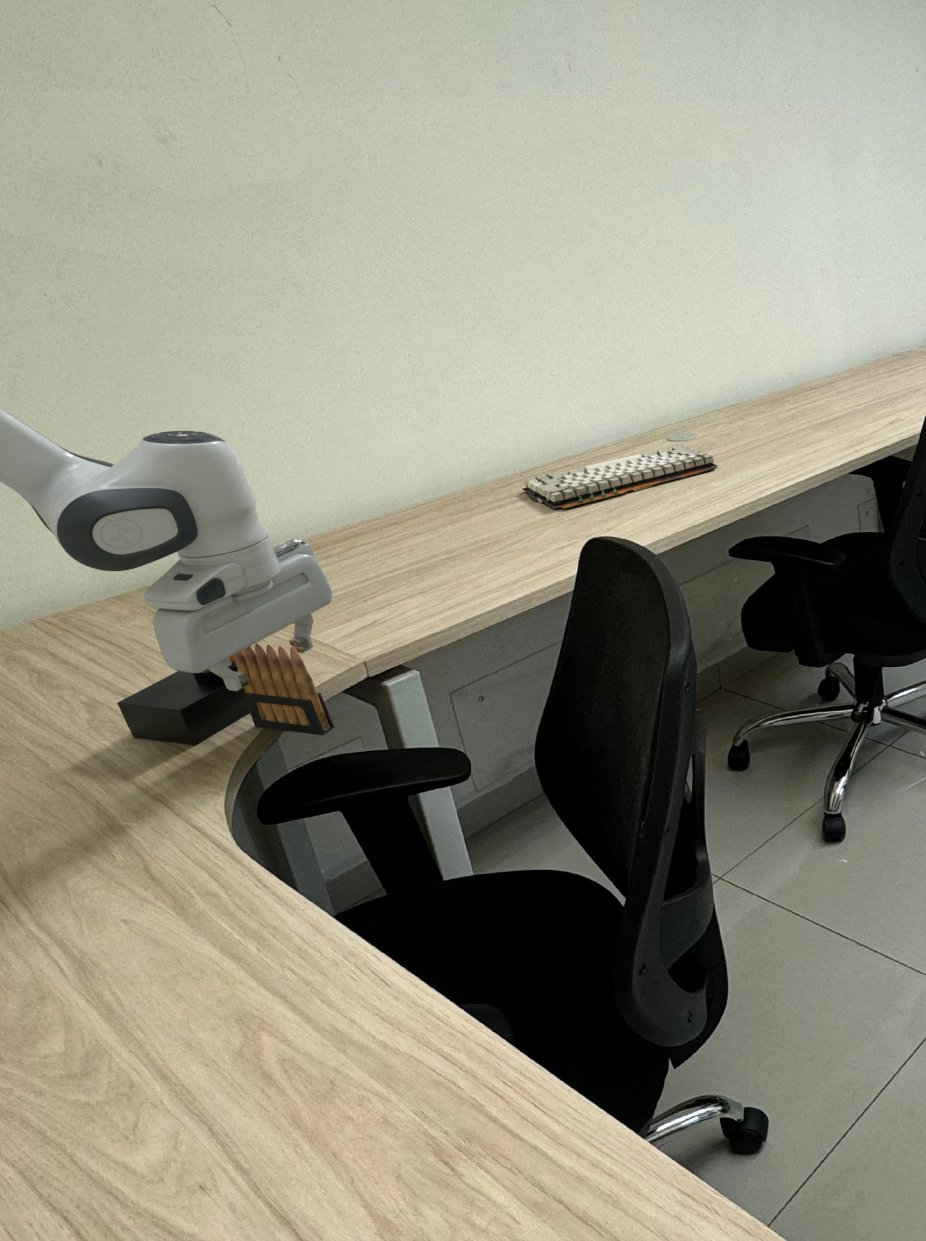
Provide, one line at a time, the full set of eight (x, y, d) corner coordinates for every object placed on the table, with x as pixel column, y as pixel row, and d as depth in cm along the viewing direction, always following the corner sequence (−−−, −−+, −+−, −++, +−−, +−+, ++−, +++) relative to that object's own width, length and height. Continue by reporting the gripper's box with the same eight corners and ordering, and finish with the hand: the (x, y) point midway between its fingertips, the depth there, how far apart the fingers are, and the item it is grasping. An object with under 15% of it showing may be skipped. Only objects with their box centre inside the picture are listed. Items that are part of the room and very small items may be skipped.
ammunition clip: (254, 727, 125) (220, 644, 120) (267, 719, 127) (234, 637, 122) (323, 735, 123) (291, 651, 118) (335, 727, 125) (304, 644, 119)
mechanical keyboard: (679, 452, 230) (677, 438, 229) (721, 469, 218) (719, 454, 216) (518, 493, 208) (514, 478, 206) (555, 515, 195) (551, 499, 193)
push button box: (133, 738, 124) (110, 690, 121) (220, 689, 135) (201, 644, 132) (197, 746, 122) (176, 697, 119) (280, 695, 133) (263, 650, 130)
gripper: (285, 532, 125) (319, 628, 131) (128, 600, 107) (176, 708, 113) (325, 534, 124) (358, 632, 130) (173, 604, 106) (219, 713, 112)
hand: (272, 668), depth 121 cm, fingers open, 8 cm apart
